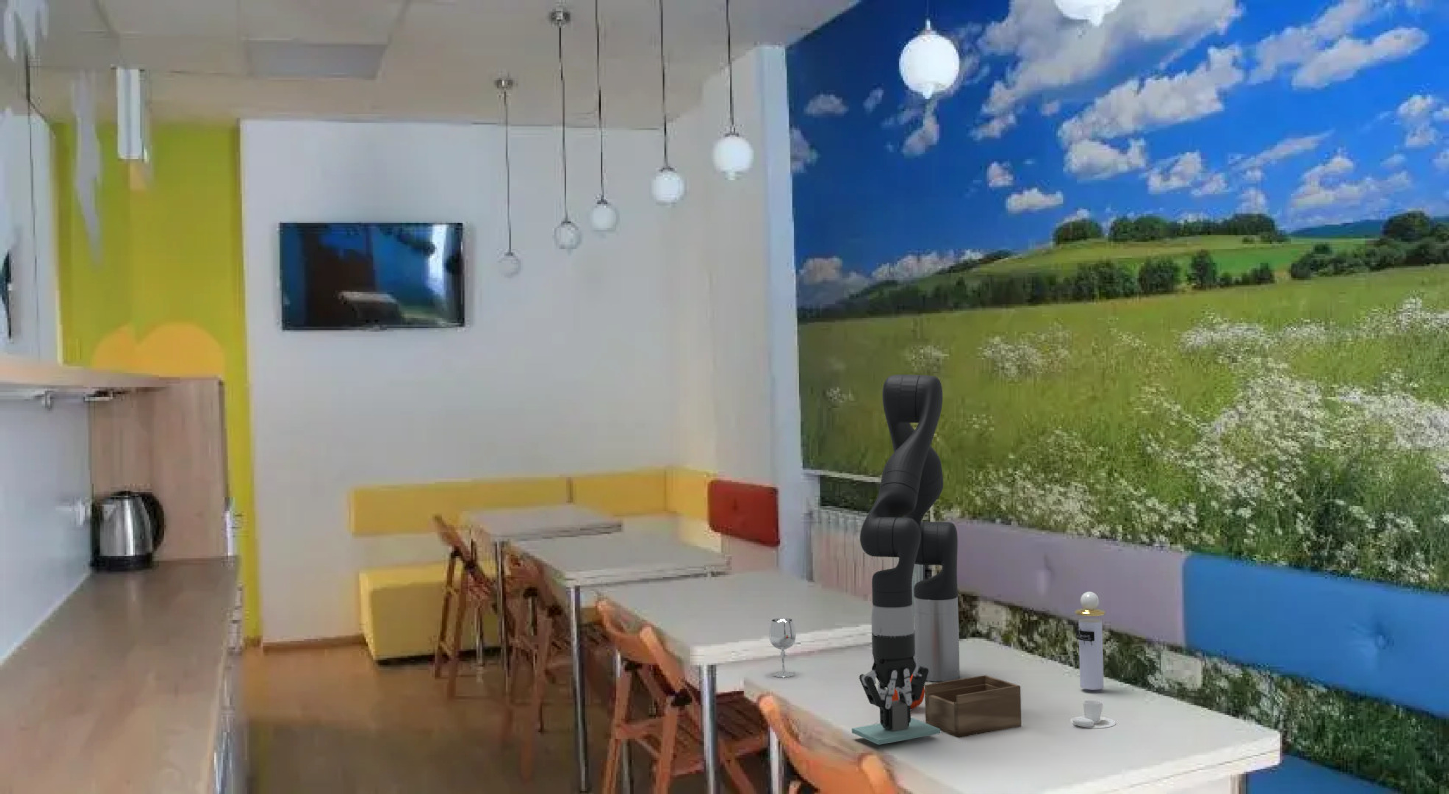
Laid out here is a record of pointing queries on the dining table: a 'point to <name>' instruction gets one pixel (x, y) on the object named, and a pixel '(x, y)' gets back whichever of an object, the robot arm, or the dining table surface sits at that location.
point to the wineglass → (782, 639)
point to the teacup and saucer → (1092, 715)
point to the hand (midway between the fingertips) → (895, 726)
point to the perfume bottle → (1090, 643)
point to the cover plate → (895, 736)
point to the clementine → (914, 704)
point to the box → (973, 705)
